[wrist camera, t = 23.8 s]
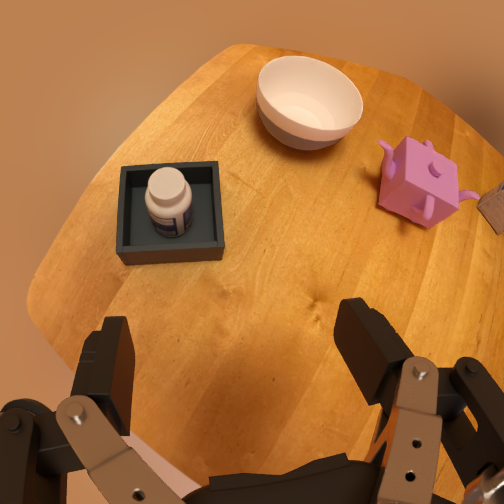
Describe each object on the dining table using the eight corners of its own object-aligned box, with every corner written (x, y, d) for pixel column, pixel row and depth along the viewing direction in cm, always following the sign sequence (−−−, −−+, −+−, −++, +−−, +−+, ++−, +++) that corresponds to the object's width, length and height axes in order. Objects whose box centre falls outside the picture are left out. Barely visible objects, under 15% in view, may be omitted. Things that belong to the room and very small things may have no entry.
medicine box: (502, 223, 54) (529, 208, 46) (497, 236, 53) (526, 220, 44) (481, 195, 55) (508, 177, 47) (476, 207, 53) (503, 188, 45)
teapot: (411, 157, 54) (443, 124, 43) (446, 220, 51) (485, 195, 40) (350, 174, 50) (381, 134, 40) (389, 248, 47) (431, 221, 37)
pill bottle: (179, 194, 43) (176, 153, 34) (200, 225, 42) (201, 189, 33) (145, 213, 42) (132, 176, 32) (164, 246, 41) (155, 214, 32)
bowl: (356, 135, 53) (380, 101, 44) (303, 186, 48) (326, 150, 39) (288, 83, 54) (302, 45, 45) (227, 122, 49) (234, 80, 40)
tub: (125, 265, 40) (115, 253, 35) (128, 186, 43) (120, 166, 38) (221, 260, 42) (224, 246, 37) (215, 181, 46) (218, 160, 41)
